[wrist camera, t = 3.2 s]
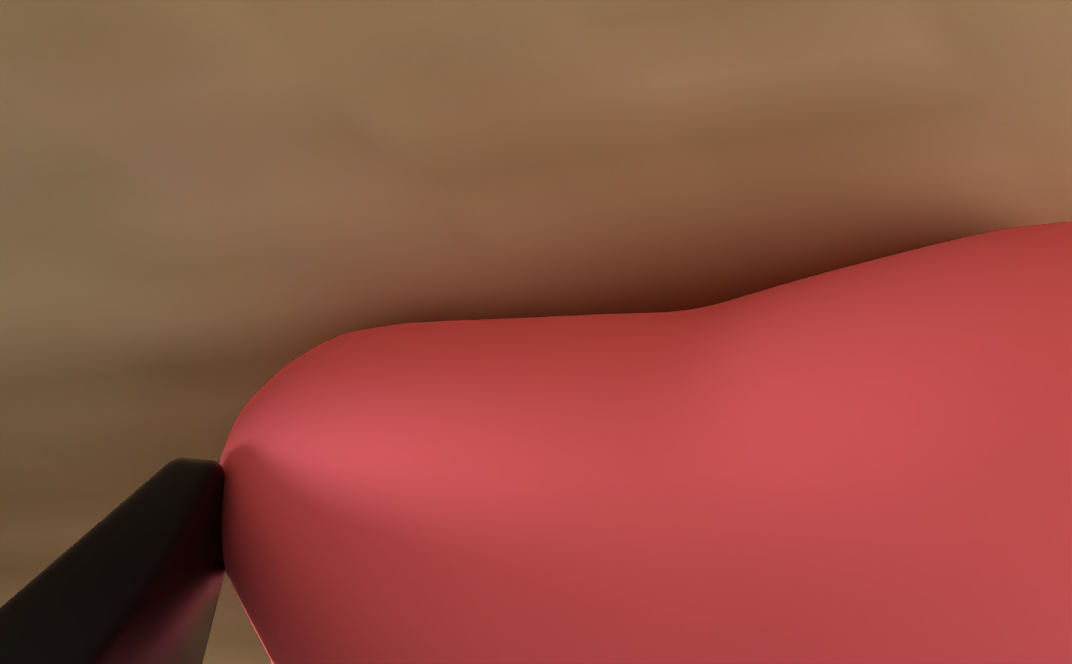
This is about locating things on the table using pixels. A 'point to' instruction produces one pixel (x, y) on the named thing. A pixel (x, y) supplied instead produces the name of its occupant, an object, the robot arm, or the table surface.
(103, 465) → the table surface
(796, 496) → the stress ball
